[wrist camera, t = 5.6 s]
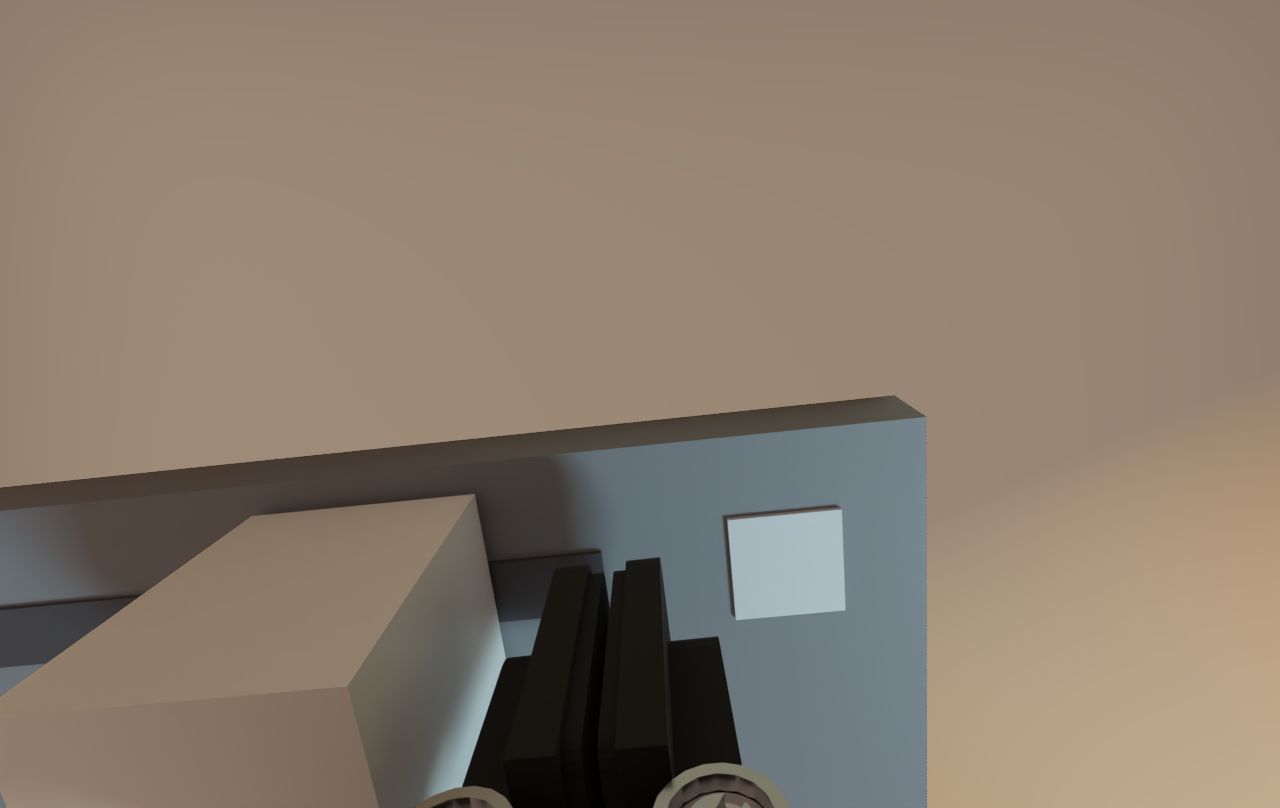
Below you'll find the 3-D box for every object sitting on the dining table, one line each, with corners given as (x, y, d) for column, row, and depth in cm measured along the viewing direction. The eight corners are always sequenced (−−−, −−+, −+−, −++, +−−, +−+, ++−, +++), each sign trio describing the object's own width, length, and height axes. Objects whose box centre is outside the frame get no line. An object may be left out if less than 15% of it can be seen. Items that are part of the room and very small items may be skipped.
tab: (474, 493, 11) (346, 686, 7) (511, 690, 12) (424, 981, 8) (251, 515, 12) (-32, 720, 7) (305, 707, 13) (92, 1004, 8)
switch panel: (894, 395, 13) (928, 418, 11) (902, 947, 16) (928, 1022, 15) (-277, 516, 14) (-396, 553, 12) (-30, 1010, 17) (-98, 1087, 16)
